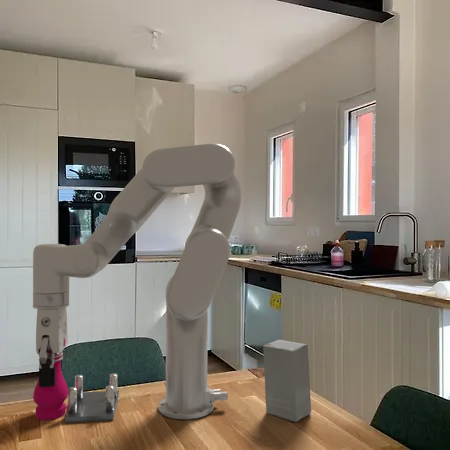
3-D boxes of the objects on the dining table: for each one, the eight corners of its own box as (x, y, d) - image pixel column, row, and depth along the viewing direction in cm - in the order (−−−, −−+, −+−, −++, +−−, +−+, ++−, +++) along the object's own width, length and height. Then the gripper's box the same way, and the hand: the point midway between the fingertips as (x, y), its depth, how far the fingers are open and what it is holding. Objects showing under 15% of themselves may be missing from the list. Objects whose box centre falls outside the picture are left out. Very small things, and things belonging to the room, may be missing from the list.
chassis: (118, 395, 111) (118, 370, 111) (113, 420, 97) (113, 391, 97) (76, 397, 109) (76, 372, 109) (65, 422, 96) (65, 393, 96)
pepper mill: (56, 422, 96) (56, 328, 96) (26, 419, 97) (26, 327, 97) (74, 409, 103) (74, 321, 103) (45, 406, 104) (46, 320, 104)
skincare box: (311, 414, 100) (312, 343, 100) (293, 425, 95) (293, 350, 95) (280, 404, 106) (281, 337, 106) (261, 413, 101) (262, 342, 101)
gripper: (60, 306, 92) (60, 394, 92) (75, 293, 109) (75, 367, 109) (21, 307, 91) (21, 396, 91) (43, 293, 108) (43, 368, 108)
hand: (50, 379), depth 100 cm, fingers open, 6 cm apart
